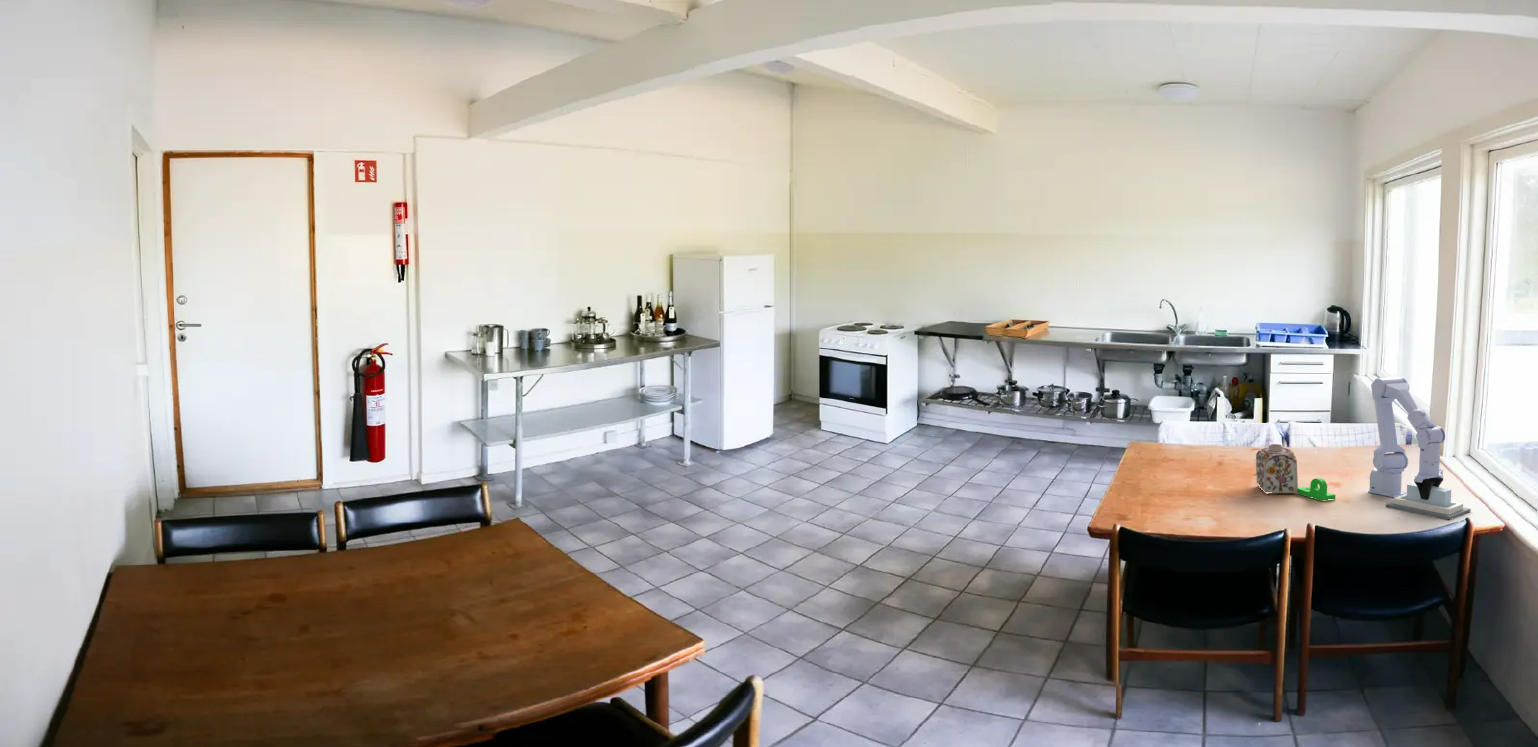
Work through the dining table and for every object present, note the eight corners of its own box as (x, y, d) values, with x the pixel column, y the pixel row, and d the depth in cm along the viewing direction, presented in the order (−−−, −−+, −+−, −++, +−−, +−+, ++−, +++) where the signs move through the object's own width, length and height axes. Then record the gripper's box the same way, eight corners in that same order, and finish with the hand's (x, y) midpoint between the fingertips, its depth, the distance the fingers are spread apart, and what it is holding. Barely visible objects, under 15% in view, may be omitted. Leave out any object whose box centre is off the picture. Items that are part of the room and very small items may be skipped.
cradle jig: (1386, 506, 320) (1386, 498, 319) (1407, 498, 326) (1407, 491, 326) (1449, 520, 302) (1450, 511, 302) (1470, 511, 309) (1470, 503, 308)
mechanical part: (1335, 500, 331) (1336, 479, 330) (1321, 501, 329) (1323, 480, 328) (1308, 491, 342) (1309, 471, 341) (1295, 493, 341) (1296, 472, 340)
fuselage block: (1406, 500, 318) (1406, 484, 317) (1412, 498, 320) (1412, 482, 319) (1444, 508, 308) (1445, 491, 307) (1450, 506, 310) (1451, 489, 309)
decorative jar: (1256, 486, 354) (1254, 442, 351) (1288, 485, 350) (1287, 441, 348) (1264, 495, 342) (1263, 449, 340) (1298, 494, 339) (1297, 448, 337)
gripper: (1431, 466, 305) (1429, 504, 307) (1453, 459, 312) (1451, 496, 314) (1408, 462, 311) (1407, 500, 313) (1430, 455, 318) (1429, 492, 320)
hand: (1427, 498), depth 314 cm, fingers closed on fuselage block, 4 cm apart
